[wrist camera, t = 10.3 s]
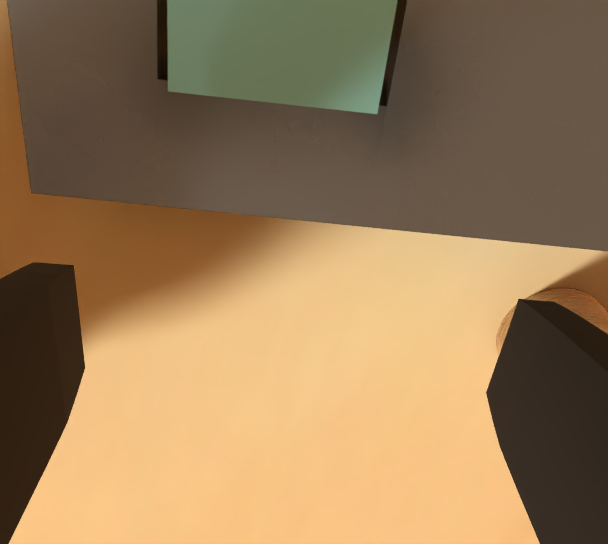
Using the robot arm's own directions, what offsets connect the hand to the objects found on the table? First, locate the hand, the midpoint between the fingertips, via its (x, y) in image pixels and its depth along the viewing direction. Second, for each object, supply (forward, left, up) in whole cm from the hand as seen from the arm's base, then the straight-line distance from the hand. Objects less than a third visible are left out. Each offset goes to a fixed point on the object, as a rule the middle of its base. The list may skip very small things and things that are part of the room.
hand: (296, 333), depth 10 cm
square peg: (-1, +5, -9) cm, 11 cm away
